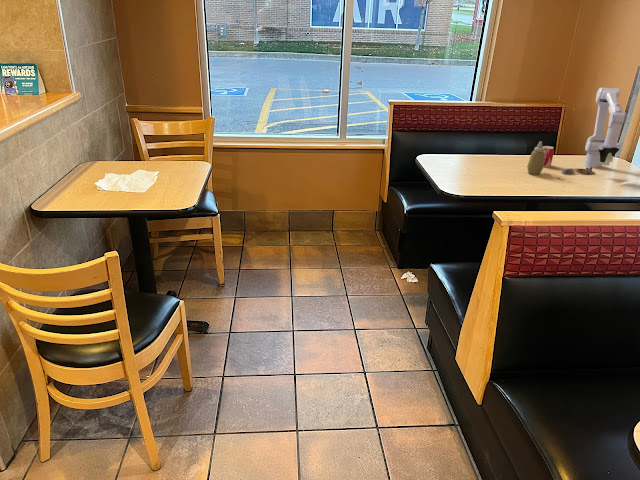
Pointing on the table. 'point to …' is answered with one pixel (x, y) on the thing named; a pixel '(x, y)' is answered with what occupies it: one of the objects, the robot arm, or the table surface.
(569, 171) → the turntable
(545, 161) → the soda can
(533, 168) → the squeeze bottle
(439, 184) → the table surface
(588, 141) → the robot arm
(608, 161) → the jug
